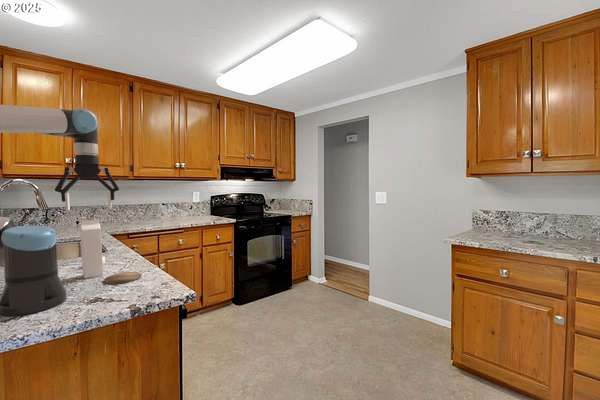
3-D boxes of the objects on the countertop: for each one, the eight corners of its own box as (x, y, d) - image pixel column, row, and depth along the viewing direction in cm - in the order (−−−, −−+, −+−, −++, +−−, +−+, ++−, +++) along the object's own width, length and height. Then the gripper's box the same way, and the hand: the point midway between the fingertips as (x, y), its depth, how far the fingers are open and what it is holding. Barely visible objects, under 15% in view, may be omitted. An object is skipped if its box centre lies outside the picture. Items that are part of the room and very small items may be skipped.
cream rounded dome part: (104, 266, 127) (104, 258, 127) (85, 269, 124) (84, 261, 123) (106, 262, 133) (105, 255, 133) (87, 265, 130) (87, 257, 130)
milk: (103, 275, 115) (101, 220, 113) (84, 278, 111) (81, 221, 109) (100, 272, 119) (98, 219, 118) (82, 275, 115) (79, 220, 114)
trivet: (141, 280, 108) (140, 278, 108) (102, 286, 102) (102, 283, 102) (141, 272, 118) (141, 270, 118) (106, 276, 113) (106, 274, 113)
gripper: (124, 156, 121) (127, 207, 123) (48, 154, 109) (51, 210, 111) (123, 155, 115) (126, 208, 116) (42, 152, 103) (45, 211, 104)
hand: (89, 209), depth 113 cm, fingers open, 13 cm apart
